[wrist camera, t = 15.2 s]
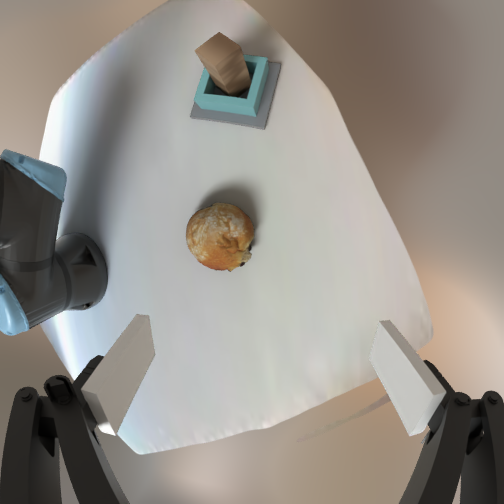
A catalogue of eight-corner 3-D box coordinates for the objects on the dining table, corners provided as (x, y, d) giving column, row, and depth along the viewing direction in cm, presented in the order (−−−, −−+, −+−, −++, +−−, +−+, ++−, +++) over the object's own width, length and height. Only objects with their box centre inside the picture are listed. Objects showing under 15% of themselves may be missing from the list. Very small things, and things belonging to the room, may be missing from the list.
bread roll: (246, 203, 45) (229, 180, 37) (269, 259, 41) (254, 244, 34) (194, 229, 46) (169, 211, 39) (211, 284, 43) (186, 275, 36)
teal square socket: (192, 118, 40) (181, 108, 35) (211, 58, 38) (203, 44, 33) (264, 129, 39) (261, 119, 34) (280, 66, 37) (279, 51, 32)
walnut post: (233, 101, 38) (214, 66, 26) (217, 87, 38) (194, 50, 26) (252, 86, 37) (240, 46, 25) (235, 72, 37) (219, 31, 25)
